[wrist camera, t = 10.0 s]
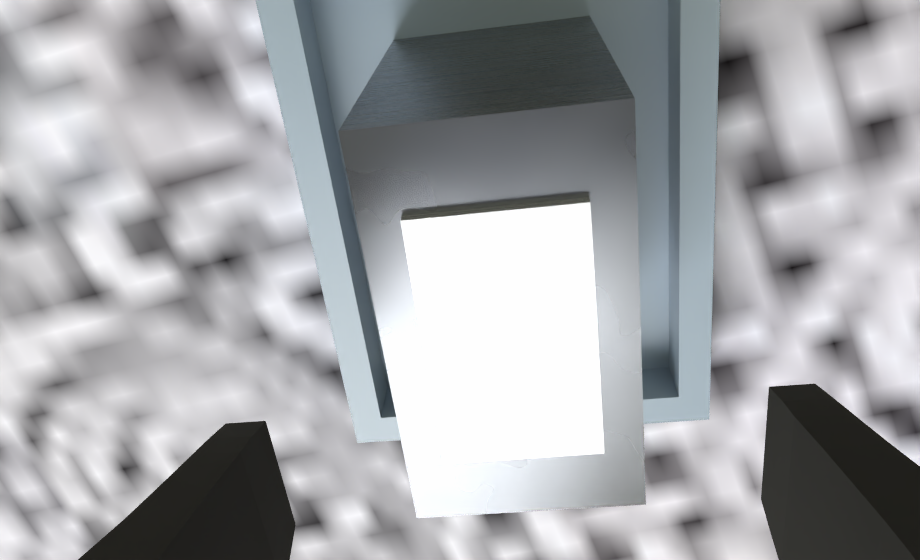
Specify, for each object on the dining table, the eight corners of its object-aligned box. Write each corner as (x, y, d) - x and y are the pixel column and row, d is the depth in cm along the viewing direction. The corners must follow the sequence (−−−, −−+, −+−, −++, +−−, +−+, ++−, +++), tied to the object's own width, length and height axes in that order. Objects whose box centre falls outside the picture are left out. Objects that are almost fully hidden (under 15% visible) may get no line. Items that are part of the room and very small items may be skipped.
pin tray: (702, -186, 17) (746, -195, 13) (693, 405, 24) (721, 488, 20) (255, -123, 18) (202, -119, 14) (374, 427, 25) (355, 509, 21)
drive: (590, 15, 18) (637, 101, 12) (605, 319, 22) (647, 511, 15) (393, 39, 18) (335, 135, 12) (441, 333, 22) (415, 525, 16)
